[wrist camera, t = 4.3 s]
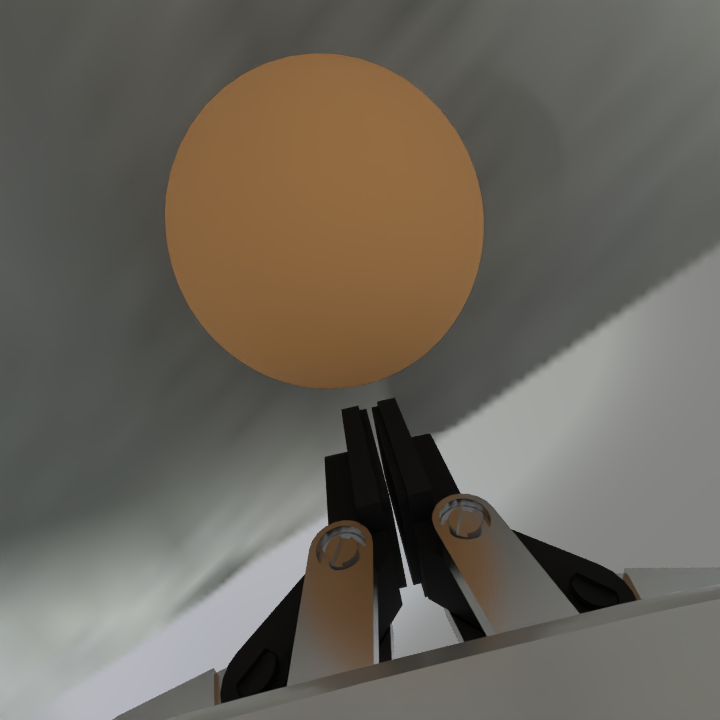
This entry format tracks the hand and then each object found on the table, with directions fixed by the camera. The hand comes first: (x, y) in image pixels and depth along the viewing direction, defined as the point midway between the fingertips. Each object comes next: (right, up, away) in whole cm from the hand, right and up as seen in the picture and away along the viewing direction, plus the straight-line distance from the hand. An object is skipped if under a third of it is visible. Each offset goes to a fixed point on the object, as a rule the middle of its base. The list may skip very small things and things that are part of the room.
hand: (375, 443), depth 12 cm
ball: (-1, +5, -4) cm, 6 cm away
